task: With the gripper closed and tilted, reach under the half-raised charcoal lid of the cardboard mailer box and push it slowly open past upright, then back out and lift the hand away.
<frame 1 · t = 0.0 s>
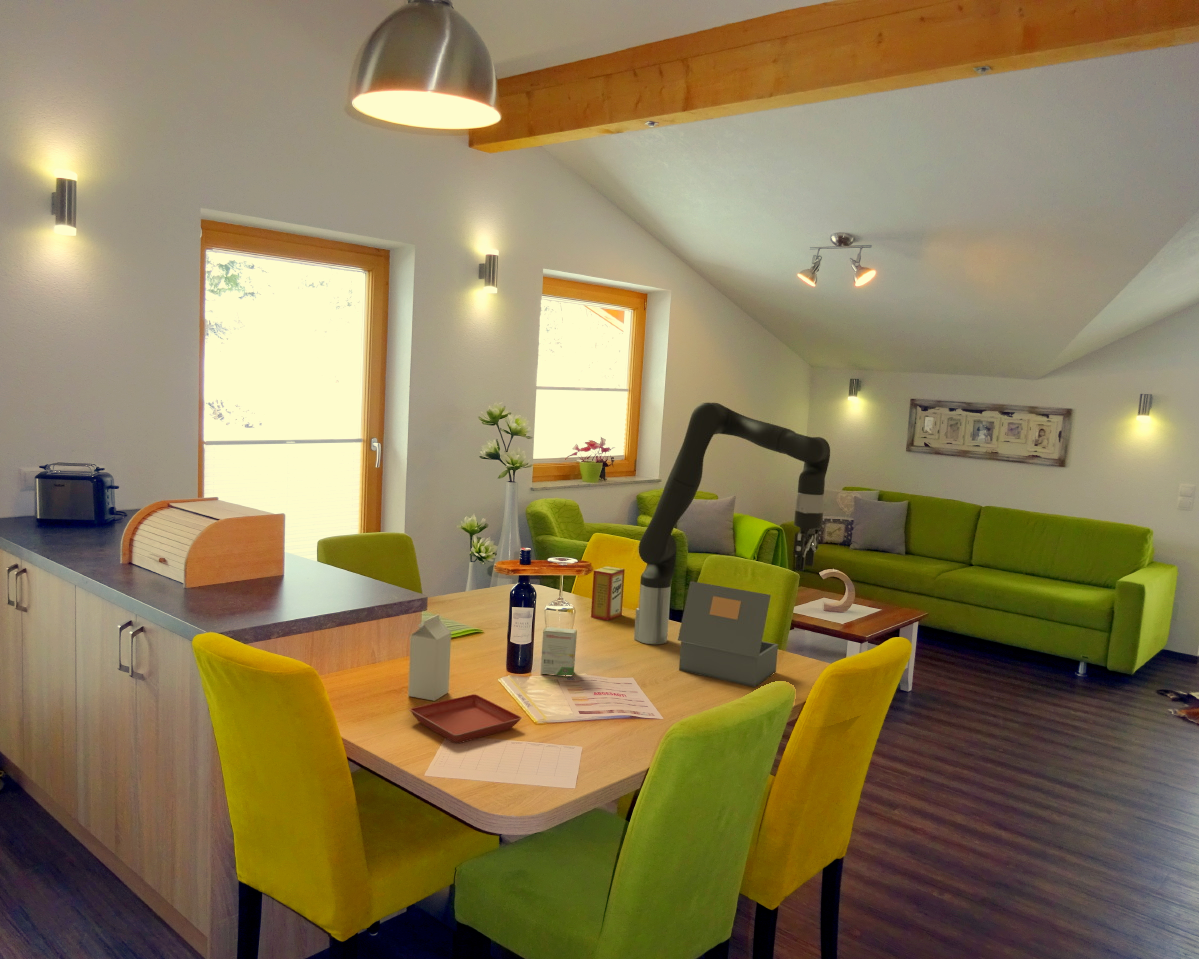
hand: (804, 568, 256), 29 cm above the table, tool pointing down, fingers open, 8 cm apart
baking soda box: (606, 616, 308), on the table
milk carton: (428, 695, 223), on the table
mailer box: (727, 671, 255), on the table
plant saucer: (465, 728, 205), on the table
ink box: (557, 674, 245), on the table
mailer lid: (723, 618, 248), point 16 cm above the table, hinge at 70.0°
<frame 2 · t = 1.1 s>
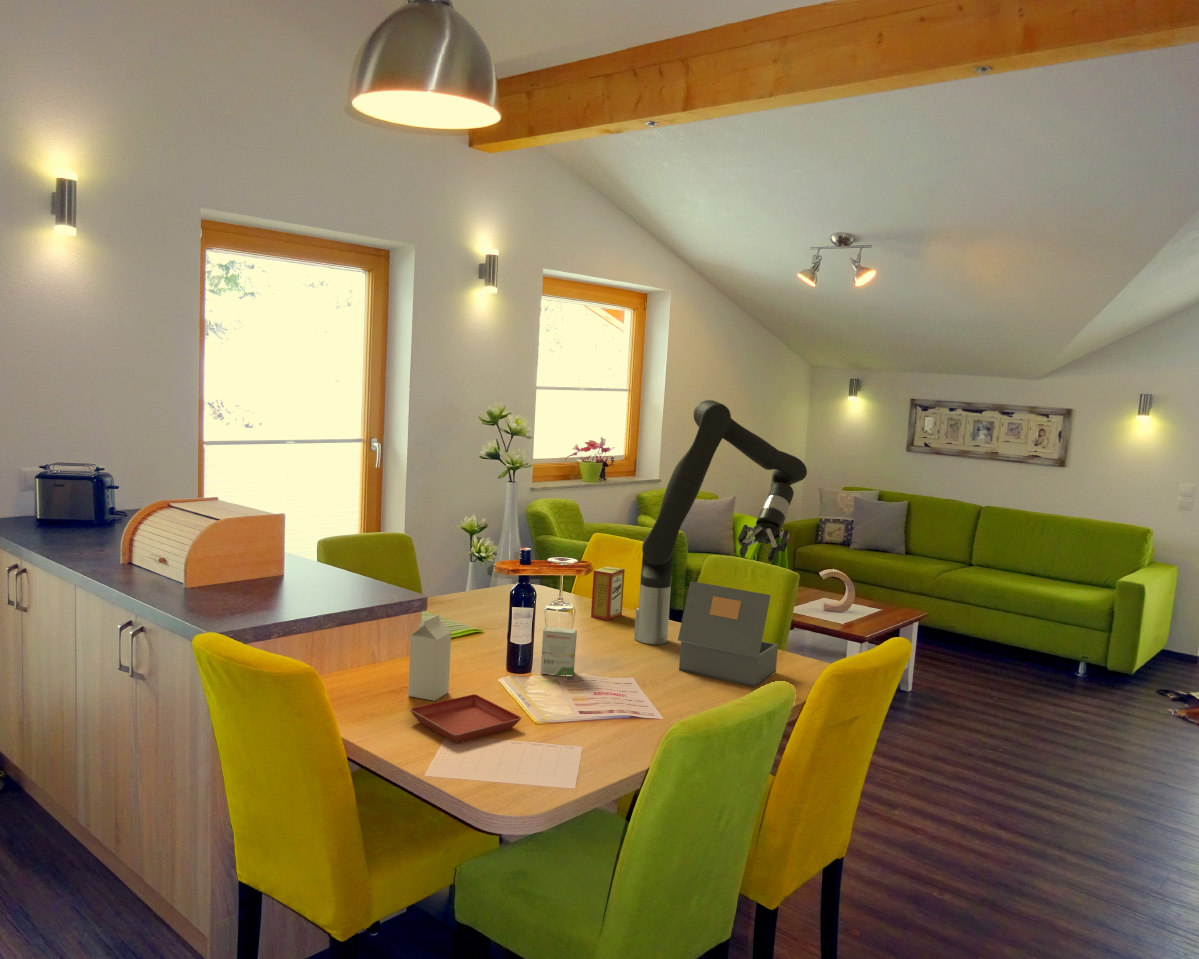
hand: (755, 558, 265), 30 cm above the table, tool tilted 45°, fingers open, 8 cm apart
nothing on the table moved.
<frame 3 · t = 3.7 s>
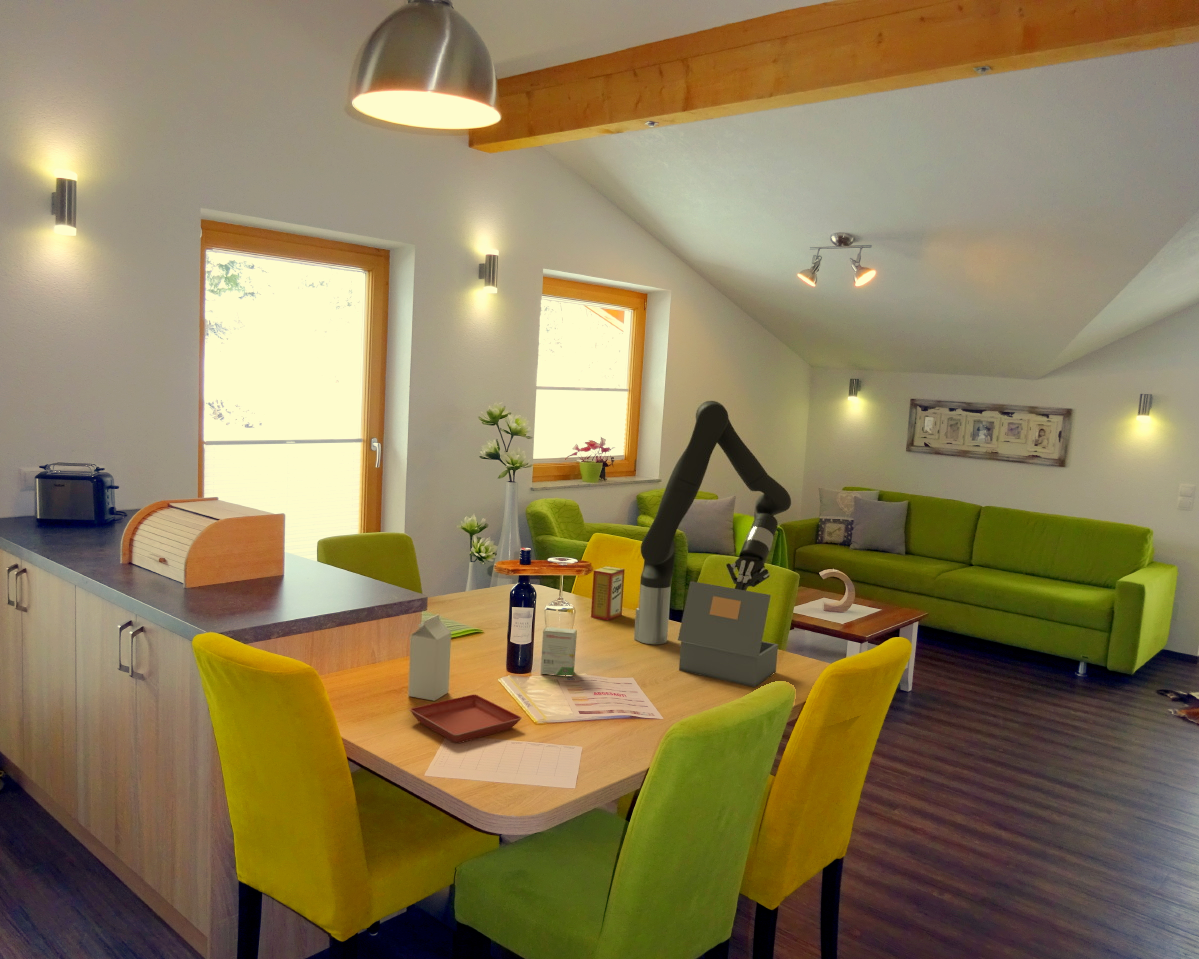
hand: (738, 595, 256), 21 cm above the table, tool tilted 45°, fingers closed
nothing on the table moved.
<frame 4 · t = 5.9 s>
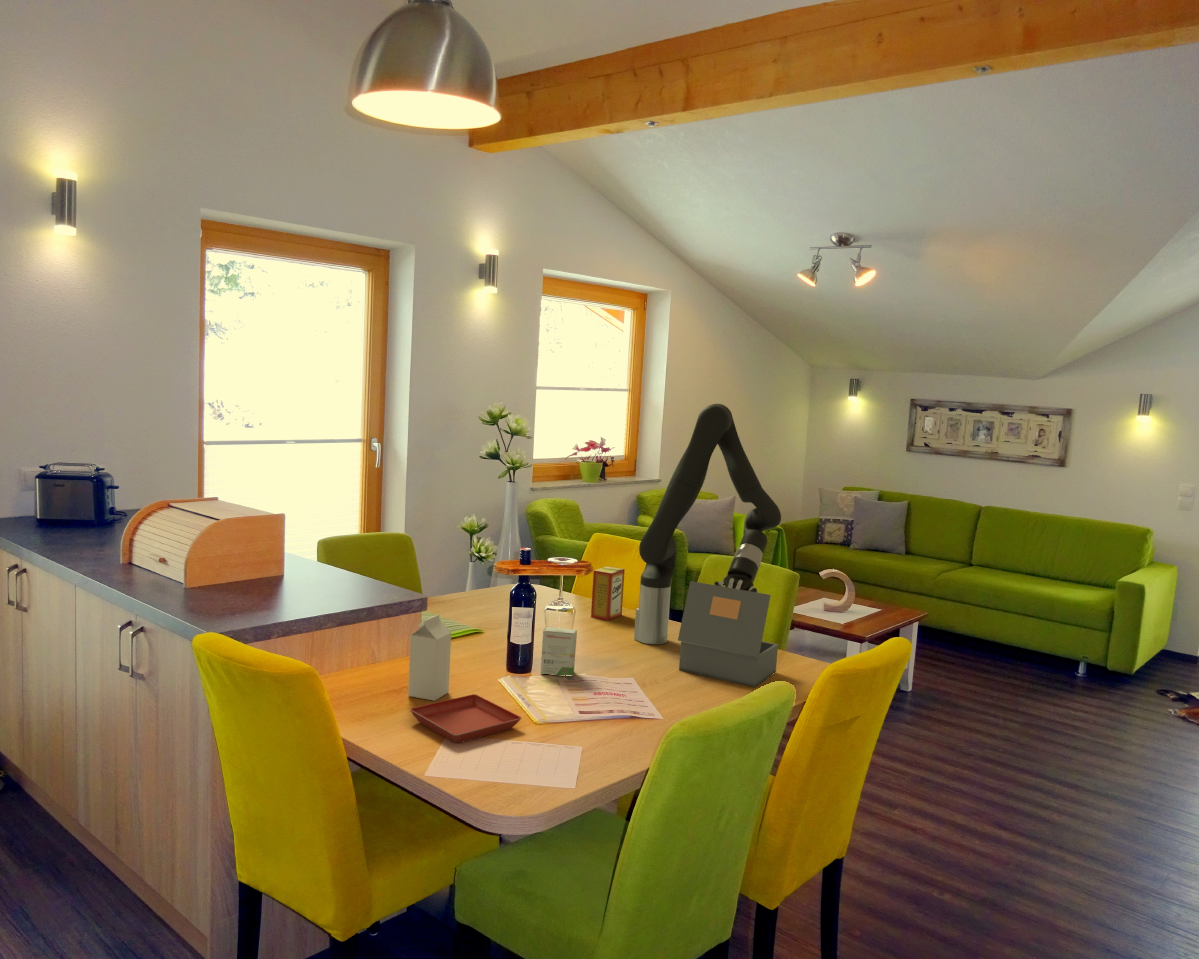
hand: (725, 615, 250), 17 cm above the table, tool tilted 45°, fingers closed
mailer lid: (723, 618, 248), point 16 cm above the table, hinge at 70.2°, touching gripper
everything else where it was.
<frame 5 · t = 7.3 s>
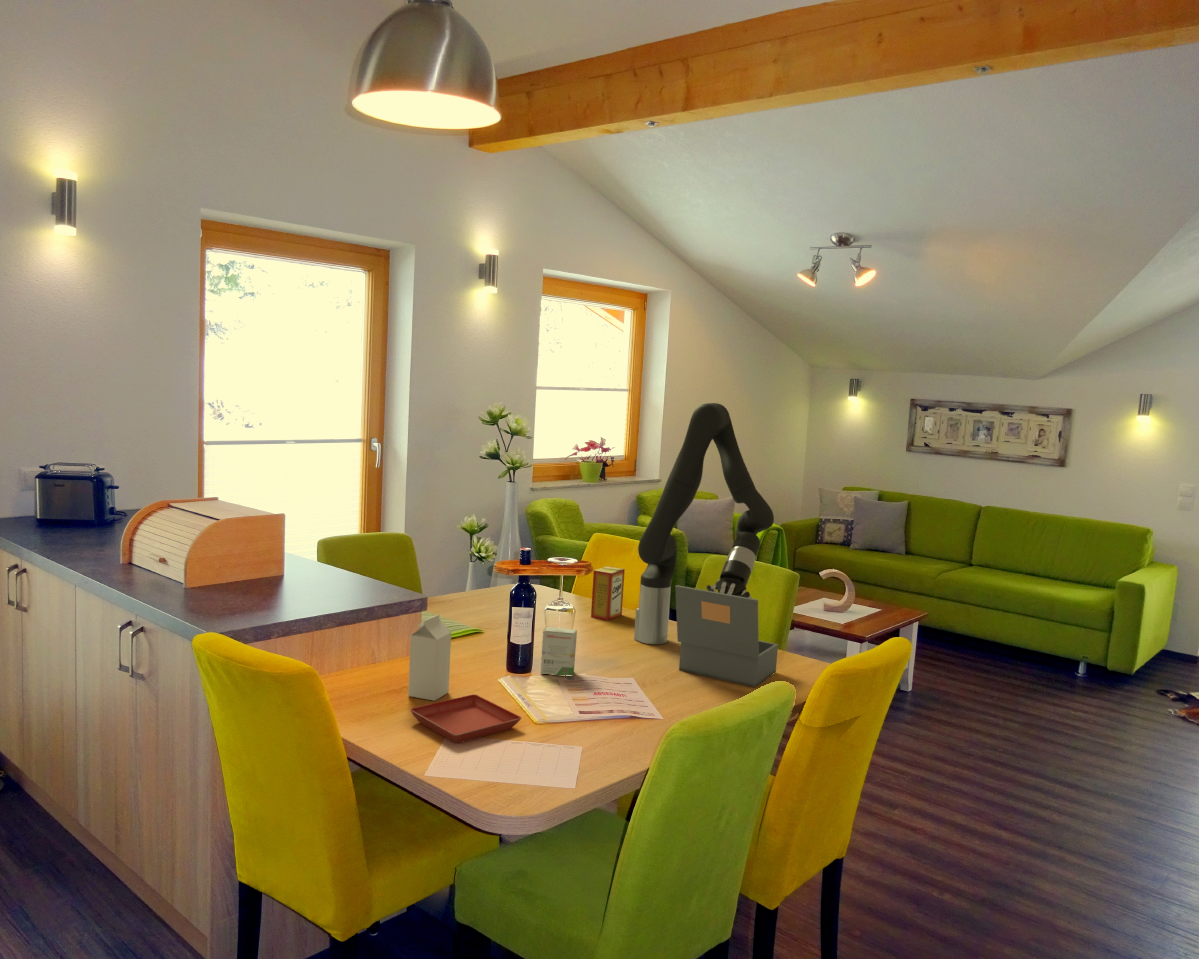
hand: (718, 619, 245), 17 cm above the table, tool tilted 45°, fingers closed
mailer lid: (716, 621, 244), point 16 cm above the table, hinge at 104.0°, touching gripper
everything else where it was.
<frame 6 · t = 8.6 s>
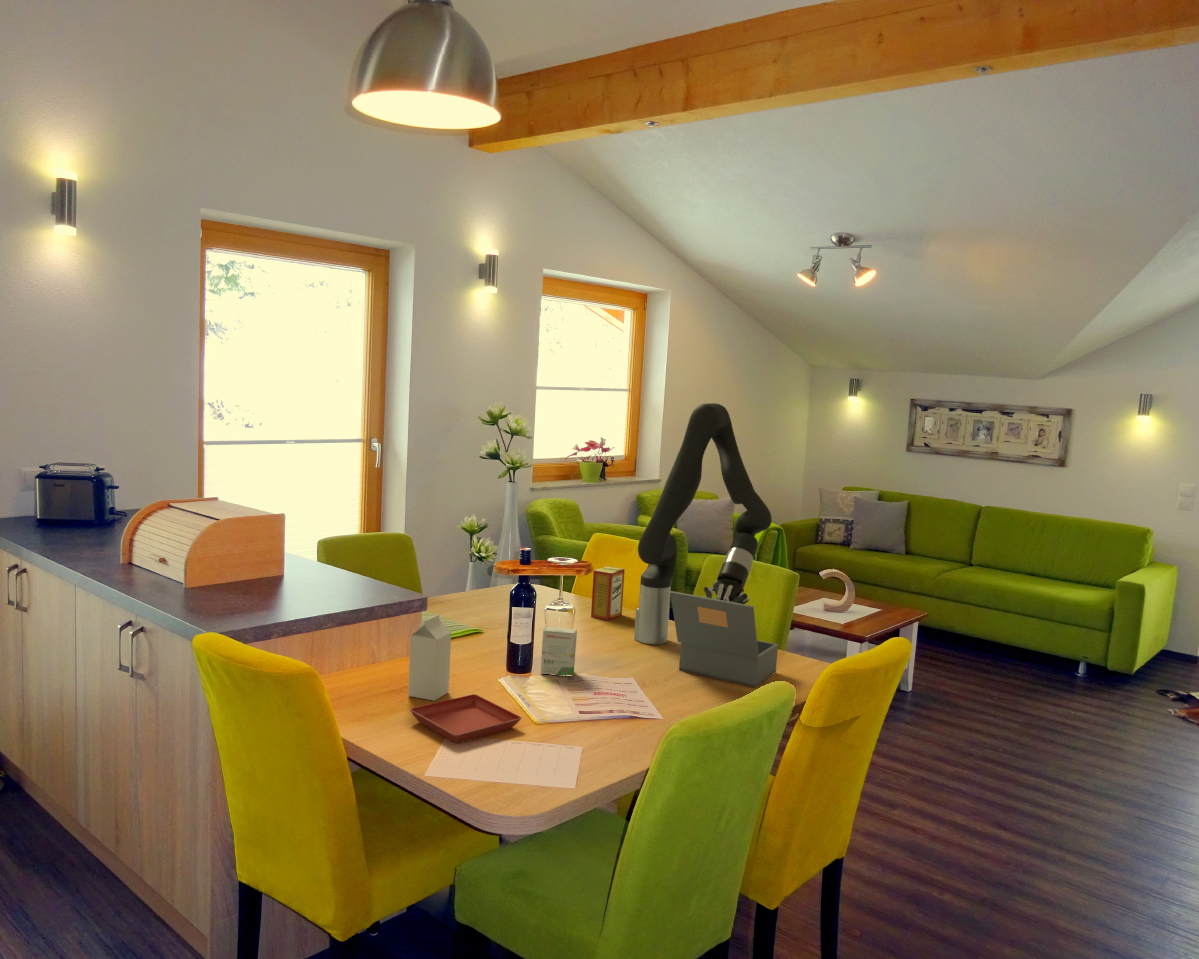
hand: (715, 622, 243), 16 cm above the table, tool tilted 45°, fingers closed
mailer lid: (714, 624, 243), point 16 cm above the table, hinge at 115.0°, touching gripper
everything else where it was.
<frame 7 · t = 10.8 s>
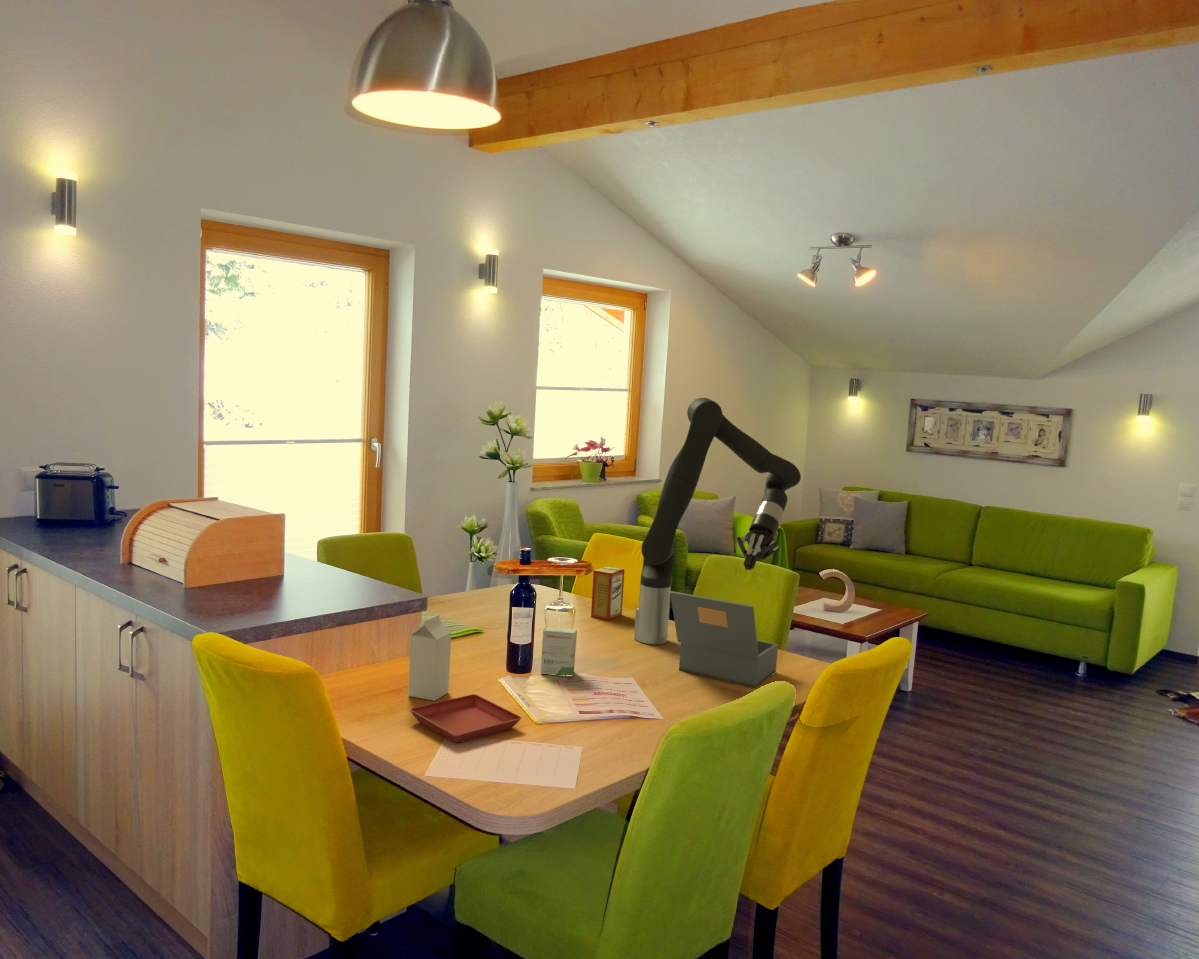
hand: (747, 568, 260), 28 cm above the table, tool tilted 45°, fingers closed
mailer lid: (714, 624, 243), point 16 cm above the table, hinge at 115.0°
everything else where it was.
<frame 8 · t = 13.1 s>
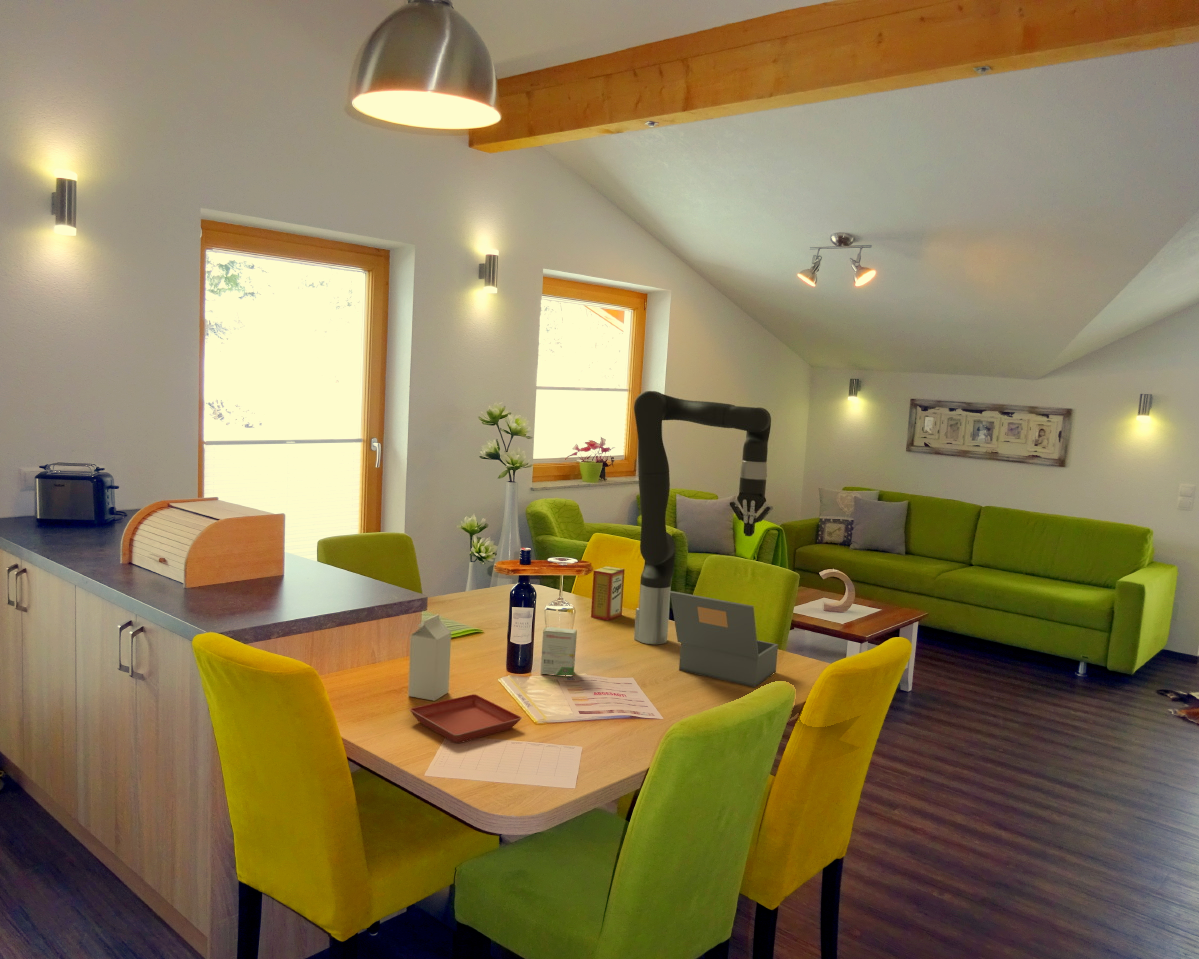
hand: (748, 535, 270), 35 cm above the table, tool pointing down, fingers closed
nothing on the table moved.
at the end: mailer lid at +115° (first picture: +70°); ink box moved 0.3 cm from its start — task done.
